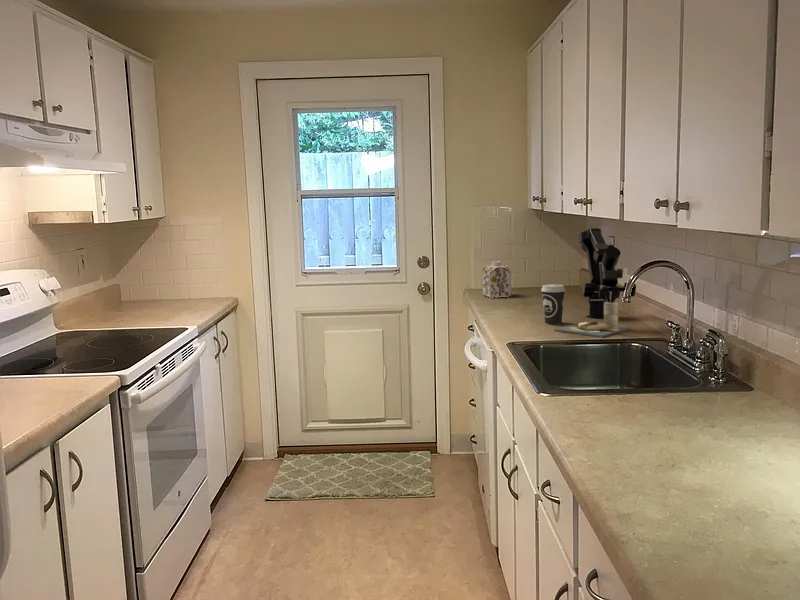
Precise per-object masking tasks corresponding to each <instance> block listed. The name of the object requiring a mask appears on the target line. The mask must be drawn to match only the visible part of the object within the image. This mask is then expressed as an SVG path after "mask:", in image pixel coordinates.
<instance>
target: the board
mask: <svg viewBox="0 0 800 600" xmlns="http://www.w3.org/2000/svg"><path fill="white" fill-rule="evenodd" d="M579 323H580V322H578V323H572V324H570V325H564V326H561V327H557V328H554V332H557V331H558V332H559V333H565V334H571V333H572V335H578V334H581V335H580V336H585V335H588V336H587V337H593V336H595V337H594V338H600V337H603V338H606V337H609V336H608V335H610V336H612V335H611V334H613V335H616V334H615V333H617V334H620V333H623V332H627V330H628V331H630V330H632V327H631V326H623V325H618V327H619V331H608V330H582V329H579ZM619 332H620V333H619ZM605 336H606V337H605Z"/></svg>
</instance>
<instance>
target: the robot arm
mask: <svg viewBox="0 0 800 600" xmlns="http://www.w3.org/2000/svg"><path fill="white" fill-rule="evenodd" d="M578 243H579V244H580V247H581V250H582V251H584V252H585V253H586V260H587V266H588V274H589V279H590V282H585V283H584V284H583V297H584V298H585V303H588V304H589V309H588V310H589V314H588V315H586V318H595V319H602V318H603V319H604V303H605V302H609V303H615V302H616V300H617V299H619V298H620V294H621V292H622V293H623V292H624V290H625V287H626V284H627V283H628V282H624V284H623V285H618V284H619V279H623V277H624V274H623V273H624V271H623V269H622V268H618V269H616V266H617V265H618V262H619V259H620V256H621V251H620V249H619V248H618V247H616V246H614V244H607V243H606V240H605V238H604V237H603V235H602V230H601V228H599V227H592V228H587V230H584V231H582V232H580V234H578ZM636 291H637V284H636V283H635V284H634V286H633V288H632V292H631V297H635V296H636V295H635V294H636ZM631 297H630V298H631Z"/></svg>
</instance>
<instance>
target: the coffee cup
mask: <svg viewBox="0 0 800 600" xmlns="http://www.w3.org/2000/svg"><path fill="white" fill-rule="evenodd" d="M540 291H541V292H542V293H541V295H542V304H543V314H544V323H545V324H546V323H548V324H547V325H560V323H561V324H562V321H563V312H564V311H563V310H564V300H565V292H566V291H567V290H566V288H565V286H564V284H559V283H558V284H557V283H555V284H554V283H552V284H551V283H550V284H542V287H541V289H540Z"/></svg>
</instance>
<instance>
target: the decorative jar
mask: <svg viewBox="0 0 800 600" xmlns="http://www.w3.org/2000/svg"><path fill="white" fill-rule="evenodd" d="M511 273H512V271H511V269H510V268H509V266H508V265H506V264H502V262H501V261H498V260H497V261H495V260H494V261H491V264H488V265H485V266H484V267H483V270H482V295H483V294H485V295H487V296H489V297H496V296H511V297H512V274H511Z"/></svg>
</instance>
